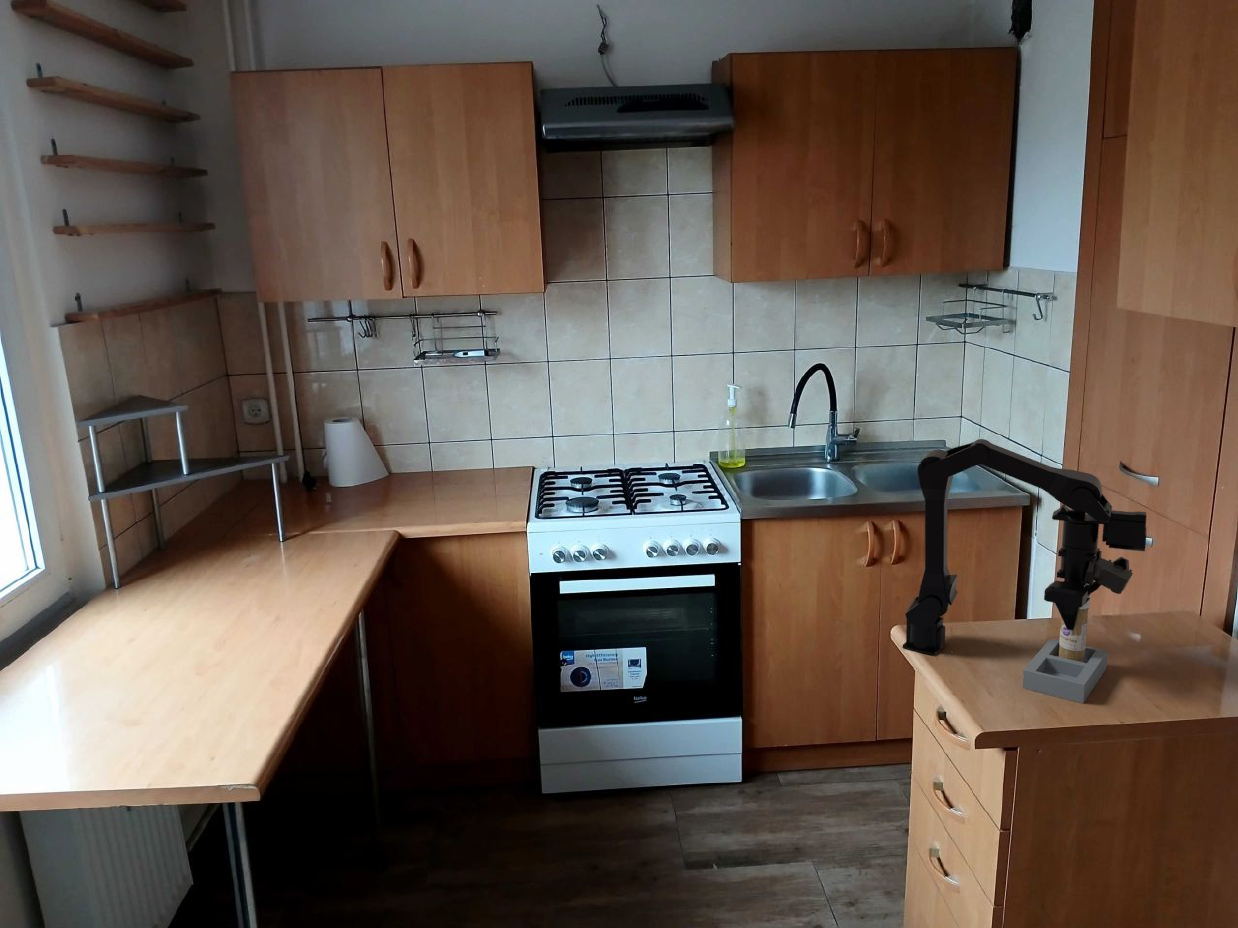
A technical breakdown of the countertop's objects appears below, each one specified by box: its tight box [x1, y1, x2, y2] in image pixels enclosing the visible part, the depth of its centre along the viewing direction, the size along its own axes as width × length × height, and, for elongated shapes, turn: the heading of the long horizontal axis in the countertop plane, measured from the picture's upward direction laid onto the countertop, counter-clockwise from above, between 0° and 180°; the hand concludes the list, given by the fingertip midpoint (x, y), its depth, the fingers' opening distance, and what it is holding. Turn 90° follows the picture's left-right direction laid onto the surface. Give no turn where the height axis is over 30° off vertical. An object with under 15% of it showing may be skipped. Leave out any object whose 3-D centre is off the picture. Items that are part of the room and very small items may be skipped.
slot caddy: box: [1022, 638, 1108, 704], centre depth 167 cm, size 10×16×4 cm, turn 140°
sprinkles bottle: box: [1058, 595, 1091, 663], centre depth 169 cm, size 5×5×14 cm
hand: (1073, 625), depth 169 cm, fingers closed on sprinkles bottle, 4 cm apart
